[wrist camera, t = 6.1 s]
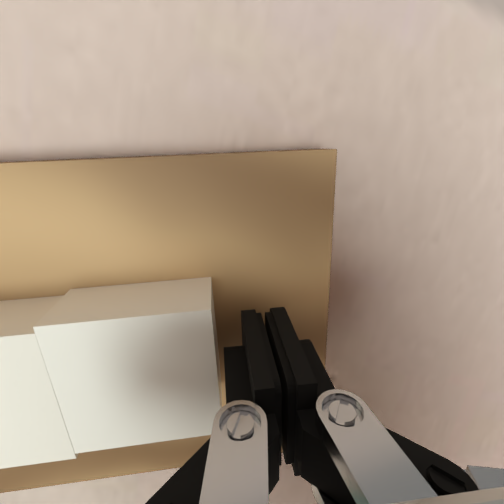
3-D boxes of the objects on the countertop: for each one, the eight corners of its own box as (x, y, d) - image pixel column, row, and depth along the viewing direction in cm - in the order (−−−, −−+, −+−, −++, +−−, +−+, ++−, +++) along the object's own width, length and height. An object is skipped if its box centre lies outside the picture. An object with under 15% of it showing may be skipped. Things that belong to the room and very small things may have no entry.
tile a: (221, 383, 13) (223, 433, 11) (99, 398, 12) (75, 453, 10) (211, 276, 11) (210, 309, 9) (70, 289, 11) (32, 327, 9)
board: (310, 419, 17) (320, 447, 15) (-5, 461, 15) (-30, 497, 13) (321, 148, 12) (337, 149, 10) (-139, 168, 10) (-200, 172, 9)
